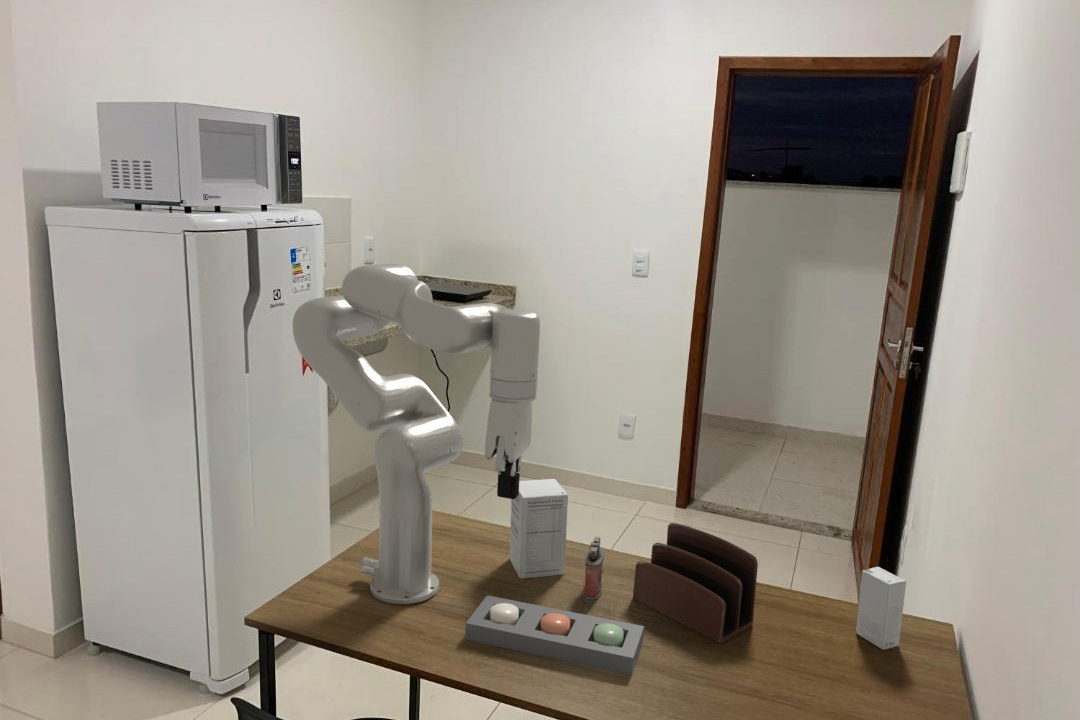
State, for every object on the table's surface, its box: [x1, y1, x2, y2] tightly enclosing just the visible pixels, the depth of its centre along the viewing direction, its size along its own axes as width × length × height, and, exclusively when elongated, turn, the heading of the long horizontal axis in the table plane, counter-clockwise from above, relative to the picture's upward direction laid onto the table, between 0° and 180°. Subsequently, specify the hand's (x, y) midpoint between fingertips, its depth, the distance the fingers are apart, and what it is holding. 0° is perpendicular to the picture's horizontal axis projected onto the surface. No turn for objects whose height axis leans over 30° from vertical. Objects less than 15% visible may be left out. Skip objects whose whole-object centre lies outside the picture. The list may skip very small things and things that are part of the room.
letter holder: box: [632, 522, 759, 645], centre depth 143 cm, size 10×20×14 cm, turn 42°
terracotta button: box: [541, 613, 570, 636], centre depth 132 cm, size 5×5×3 cm
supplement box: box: [509, 478, 569, 579], centre depth 157 cm, size 10×9×17 cm
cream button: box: [490, 603, 519, 626], centre depth 134 cm, size 5×5×3 cm
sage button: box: [593, 623, 624, 648], centre depth 129 cm, size 5×5×3 cm
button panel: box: [464, 595, 645, 676], centre depth 132 cm, size 28×10×3 cm, turn 73°
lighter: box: [582, 536, 605, 603], centre depth 149 cm, size 8×3×10 cm, turn 168°
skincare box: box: [855, 566, 907, 650], centre depth 136 cm, size 6×4×12 cm
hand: (507, 496), depth 130 cm, fingers closed
